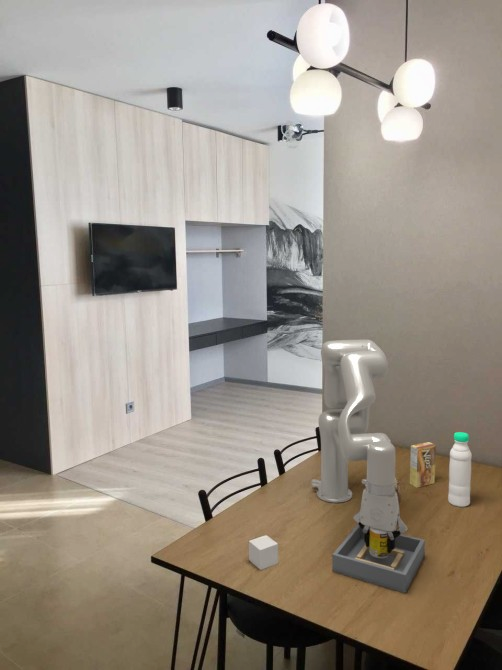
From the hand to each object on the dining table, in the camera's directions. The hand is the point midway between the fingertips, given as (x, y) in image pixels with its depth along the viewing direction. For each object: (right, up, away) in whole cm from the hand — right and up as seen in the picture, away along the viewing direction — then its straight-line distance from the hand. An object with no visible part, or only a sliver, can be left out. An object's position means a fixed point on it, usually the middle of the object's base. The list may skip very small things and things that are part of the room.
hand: (379, 547), depth 154 cm
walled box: (0, -5, +1) cm, 5 cm away
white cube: (-32, -5, +3) cm, 33 cm away
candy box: (+28, +3, +53) cm, 60 cm away
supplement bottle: (0, -2, 0) cm, 2 cm away
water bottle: (+36, +1, +37) cm, 52 cm away
